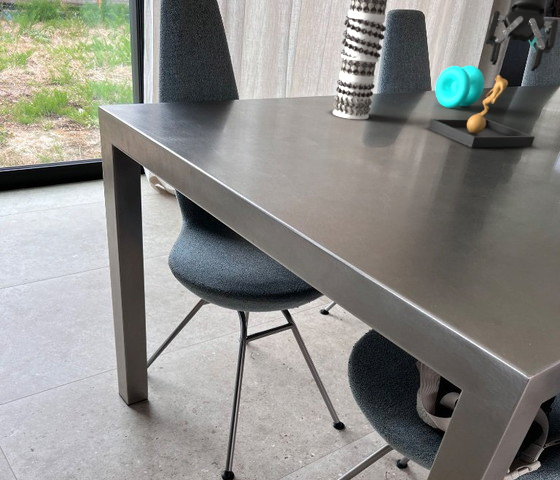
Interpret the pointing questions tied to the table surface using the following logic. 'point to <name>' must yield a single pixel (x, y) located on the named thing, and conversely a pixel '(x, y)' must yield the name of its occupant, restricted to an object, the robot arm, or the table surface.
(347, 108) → the decorative candle
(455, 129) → the base pad
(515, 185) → the table surface
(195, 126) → the table surface
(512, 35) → the robot arm
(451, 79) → the donuts
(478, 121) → the figurine
